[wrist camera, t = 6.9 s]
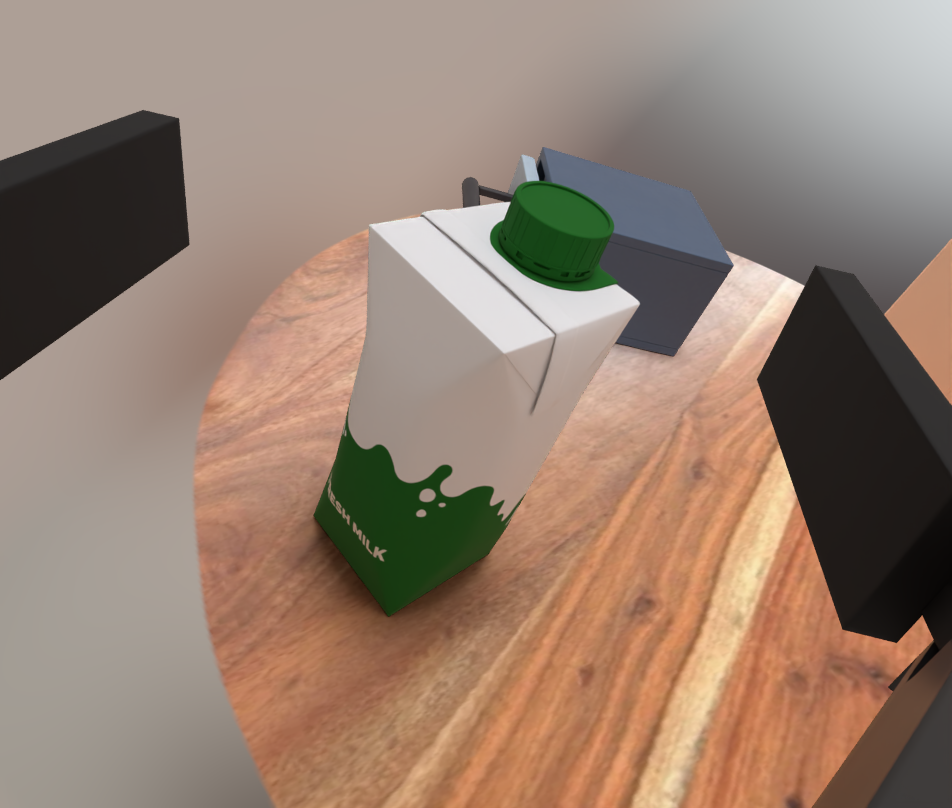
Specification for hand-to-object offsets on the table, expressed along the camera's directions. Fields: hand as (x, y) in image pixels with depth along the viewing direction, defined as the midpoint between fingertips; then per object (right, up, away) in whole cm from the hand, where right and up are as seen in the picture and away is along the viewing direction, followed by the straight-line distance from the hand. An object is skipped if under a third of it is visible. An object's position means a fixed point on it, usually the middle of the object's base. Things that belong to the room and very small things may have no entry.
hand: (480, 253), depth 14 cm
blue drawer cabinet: (+10, +7, +47) cm, 49 cm away
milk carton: (-4, -11, +23) cm, 25 cm away
